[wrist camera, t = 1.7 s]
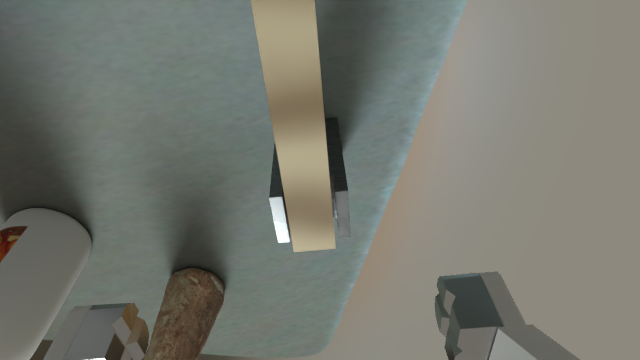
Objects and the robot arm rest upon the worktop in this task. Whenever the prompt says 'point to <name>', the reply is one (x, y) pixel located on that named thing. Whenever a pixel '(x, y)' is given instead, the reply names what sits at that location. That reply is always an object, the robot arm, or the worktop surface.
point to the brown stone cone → (186, 315)
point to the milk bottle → (36, 275)
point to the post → (336, 185)
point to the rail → (297, 116)
